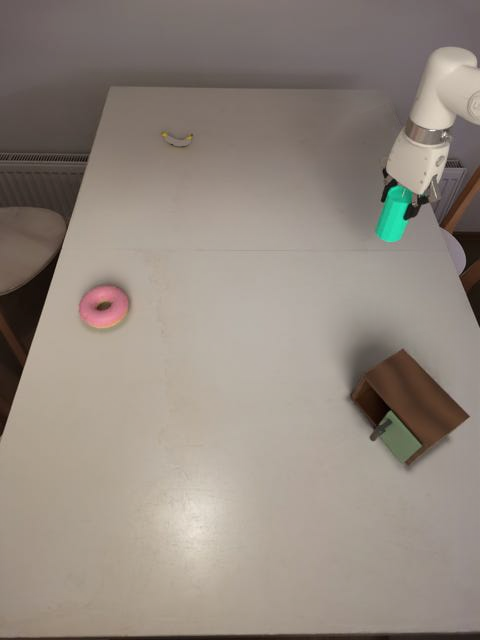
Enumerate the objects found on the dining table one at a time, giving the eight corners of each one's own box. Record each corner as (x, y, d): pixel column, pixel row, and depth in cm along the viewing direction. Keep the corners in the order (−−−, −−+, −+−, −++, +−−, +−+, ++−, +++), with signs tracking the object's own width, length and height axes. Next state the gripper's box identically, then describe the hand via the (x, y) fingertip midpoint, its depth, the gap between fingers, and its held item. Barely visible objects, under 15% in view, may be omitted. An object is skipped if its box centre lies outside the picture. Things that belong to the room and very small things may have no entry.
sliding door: (376, 429, 82) (390, 410, 75) (404, 462, 79) (422, 445, 71) (361, 439, 81) (374, 421, 73) (388, 473, 78) (405, 457, 70)
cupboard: (386, 374, 90) (403, 348, 81) (445, 437, 82) (470, 416, 73) (350, 398, 86) (363, 373, 78) (407, 466, 79) (429, 447, 70)
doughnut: (128, 330, 95) (124, 319, 91) (78, 332, 94) (72, 322, 91) (132, 291, 101) (128, 280, 98) (84, 293, 101) (79, 282, 97)
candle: (400, 244, 94) (419, 200, 85) (373, 238, 96) (388, 194, 86) (403, 226, 98) (421, 182, 88) (377, 221, 99) (392, 176, 89)
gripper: (481, 145, 73) (441, 225, 88) (407, 101, 82) (382, 181, 97) (451, 159, 71) (415, 239, 86) (378, 112, 80) (356, 192, 94)
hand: (398, 207), depth 91 cm, fingers closed on candle, 6 cm apart
